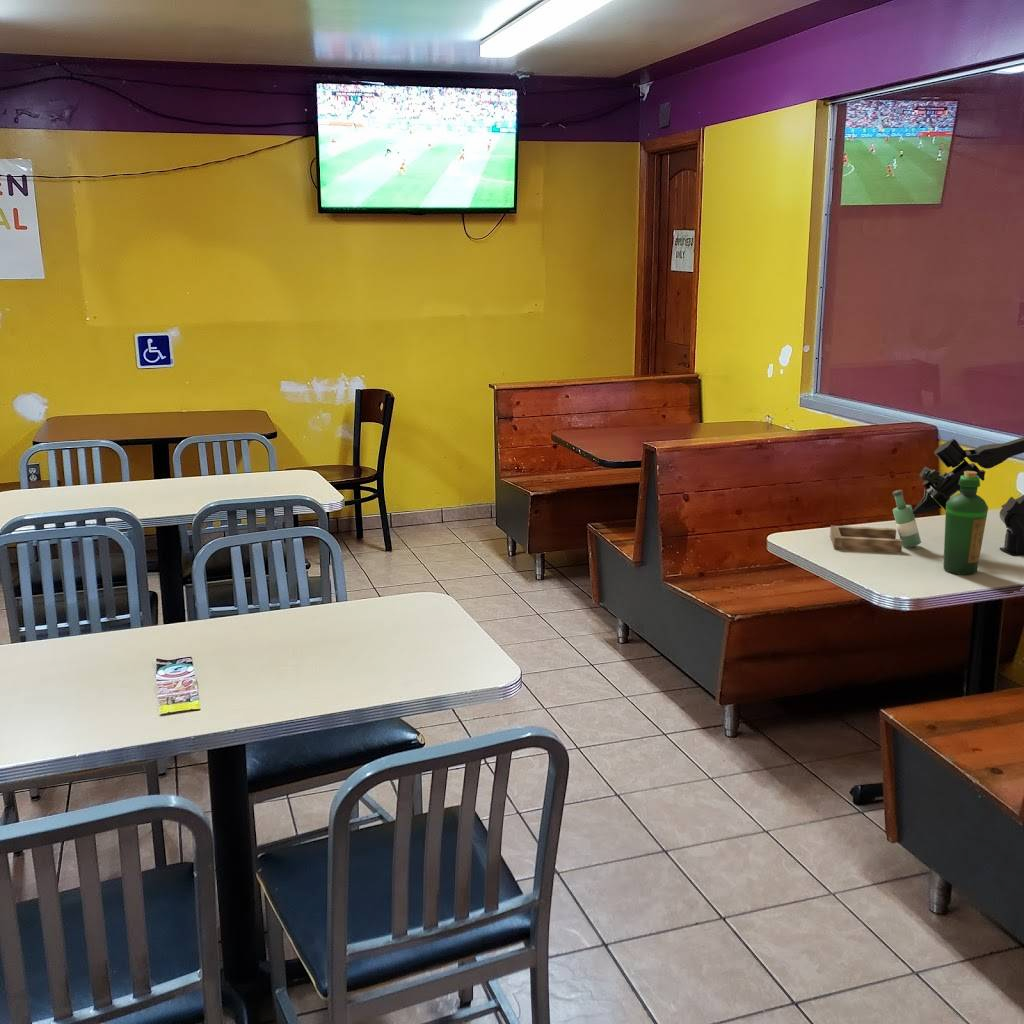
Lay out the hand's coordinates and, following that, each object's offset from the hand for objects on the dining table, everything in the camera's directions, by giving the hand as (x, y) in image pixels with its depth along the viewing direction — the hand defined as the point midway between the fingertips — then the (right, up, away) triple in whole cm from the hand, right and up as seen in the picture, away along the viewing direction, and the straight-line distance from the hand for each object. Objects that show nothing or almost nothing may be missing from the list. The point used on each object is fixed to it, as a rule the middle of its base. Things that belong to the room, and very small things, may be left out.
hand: (913, 513), depth 304 cm
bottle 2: (+5, -16, -20) cm, 26 cm away
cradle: (-13, -9, +5) cm, 17 cm away
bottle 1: (0, -9, +2) cm, 10 cm away
